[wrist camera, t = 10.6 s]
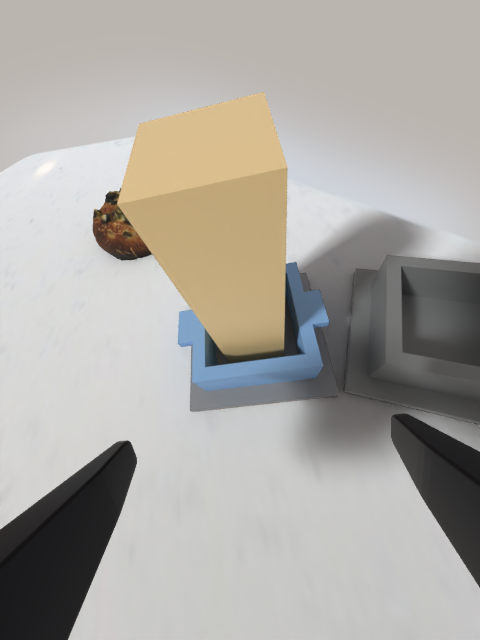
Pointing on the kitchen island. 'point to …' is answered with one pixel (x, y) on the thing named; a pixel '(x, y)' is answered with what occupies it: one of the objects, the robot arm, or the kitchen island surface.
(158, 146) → the tall tan pillar
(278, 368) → the blue bezel socket
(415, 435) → the robot arm
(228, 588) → the kitchen island surface
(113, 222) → the bread roll
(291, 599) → the kitchen island surface
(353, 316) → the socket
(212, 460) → the kitchen island surface
